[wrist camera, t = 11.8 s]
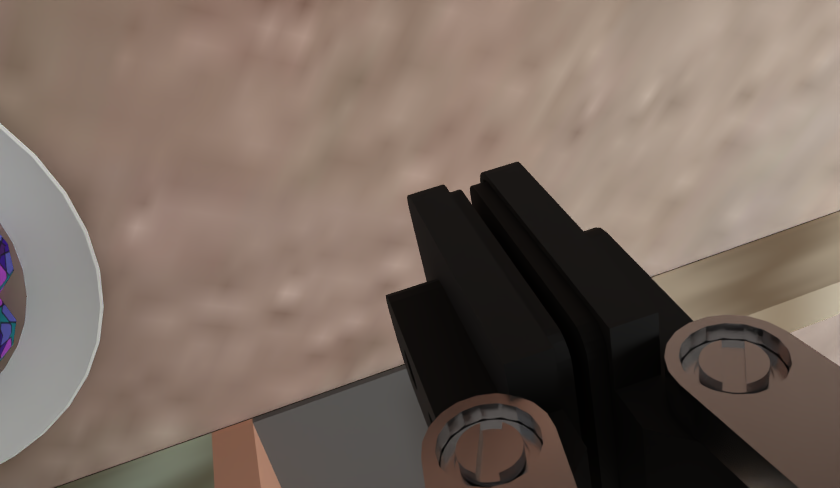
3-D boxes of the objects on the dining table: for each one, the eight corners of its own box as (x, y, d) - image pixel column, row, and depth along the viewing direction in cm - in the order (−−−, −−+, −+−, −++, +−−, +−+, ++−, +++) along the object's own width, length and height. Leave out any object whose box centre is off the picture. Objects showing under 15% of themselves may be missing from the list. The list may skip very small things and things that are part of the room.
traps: (329, -896, 11) (372, -1108, 9) (563, 500, 27) (603, 567, 25) (-390, -811, 10) (-581, -1032, 8) (294, 604, 26) (307, 687, 23)
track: (981, -456, 17) (1185, -532, 13) (895, 221, 25) (1006, 279, 22) (-1047, 2, 12) (-1545, 65, 8) (-288, 646, 21) (-381, 805, 17)
